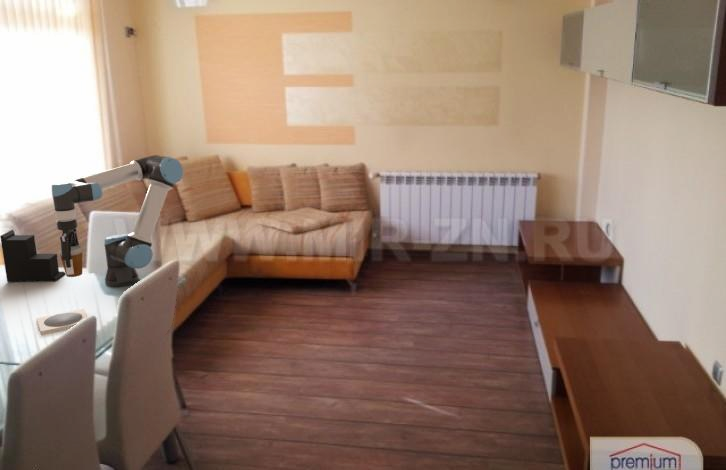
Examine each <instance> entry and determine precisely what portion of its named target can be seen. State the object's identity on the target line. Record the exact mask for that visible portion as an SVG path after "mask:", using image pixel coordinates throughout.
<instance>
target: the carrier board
mask: <svg viewBox="0 0 726 470" xmlns="http://www.w3.org/2000/svg"><path fill="white" fill-rule="evenodd" d="M87 317H89V315H88V313H87V312H86V310H85V308H82V309H77V310H76V309H75V310H71V311H67V312H66V311H65V312H62V313H56V314H52V315H46V316H41V317H36V318H35V319H36V323H37V326H38V329H39V331H40V335H48V334H53V333H56V332H61V331H66V330H70V329H69V328H71V327H73V326H74V325H76V324H77V323H78V322H80V321H81V320H83V319H85V318H87Z"/></svg>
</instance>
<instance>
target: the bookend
mask: <svg viewBox="0 0 726 470" xmlns="http://www.w3.org/2000/svg"><path fill="white" fill-rule="evenodd" d="M0 243H1V248H2V249H1V250H2V257H3V263H4V270H5V274H6V276H5V277H6V282H8V283H11V282H24V283H25V282H28V283H29V282H58V281H59V280H60V279H61V278H63V277H64V276H66V273H65V271H60V269H59V261H58V253H37V246H36V240H35V235H34V234H15V231H14V230H13V229H11V230H9V231H7V232H5V233H3V234H1V235H0Z"/></svg>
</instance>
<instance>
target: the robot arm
mask: <svg viewBox="0 0 726 470" xmlns="http://www.w3.org/2000/svg"><path fill="white" fill-rule="evenodd" d="M183 176H184V167H183V166H182V163H181V162H180V161H179V160H178V159H177V158H174V157H171V156H163V155H158V154H157V155H156V154H154V155H149V156H148V155H147V156H145V157H141V158H138V159H136V160H132V161H131V162H130V163H129V164H125V165H121V166H119V167H115V168H114V167H113V168H110V169H106V170H103V171H100V172H97V173H93V174H89V175H87V176H82V177H77V178H75V179H68V178H67V179H64V180H62V181H59V182H54V183H52V185H51V196H52V201H53V208H54V212H53V214H54V215H55V219H56V228H57V230H58V231H62V234H61V236H59V239H60V246H61V247H60V248H61V249H62V260H65V266H66V272H67V275H70V274H74V269H73V262H72V259H71V246H76V245H80V243H79V242H80V241H79V239H78V234H77V228H78V222H77V214H76V213H77V212H76V209H75V204H81V203H88V202H94V201H98V200H100V199H101V198H103V197H102V196H103V190H104V189H108V188H111V187H114V186H118V185H121V184H123V183H124V184H125V183H128V182H131V181H134V180H137V181H142V180H147V179H148V183H149V186H148V189H147V193H146V194H145V198H144V200H143V202H142V205H141V207H140V211H139V213H138V215H137V219H136V221H135V224H134V227H133V229H132V231H131V233H129V234H128V233H122V234H114V235H110V236H107V237H105V238H104V241H103V242H104V249H105V261H106V267H107V269H106V272H105V273H106V274H105V278H104V283H105V285H106V286H108V287H115V288H118V287H126V286H131V285H134V284H136V283H138V282H139V281H140V280H139V279H140V278H139V277H140V276H139V273H138V272H137V269H143V268H145V267H147V266H148V265H150V263H151V261H152V259H153V256H154V255H153V254H154V253H153V250H152V245H153V241H152V236H153V233H154V230H155V227H156V226H157V225H156V224H157V222H158V220H159V217H160V214H161V212H162V209H163V207H164V204H165V201H166V199H167V196H168V192H169V191H171V190H173V189H174V186H175V184H177V183H179V182H180V181H181V180H182V178H183ZM62 260H61V261H62Z"/></svg>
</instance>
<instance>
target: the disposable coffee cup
mask: <svg viewBox="0 0 726 470" xmlns="http://www.w3.org/2000/svg"><path fill="white" fill-rule="evenodd" d="M58 249H59V250H58V253H57V254H59V256H60V259H61V264H62V266H63V269H64V272H65V276H66V277H67V278H74V277H75V278H76V277H79V276H82V275H83V252H84V248H83V247H82V246H81V245H80V244H79V245H76V246H71V259H72V262H73V269H74V274H70V275H67V272H66V266H65V260H62V249H61V247H60V248H58Z"/></svg>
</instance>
